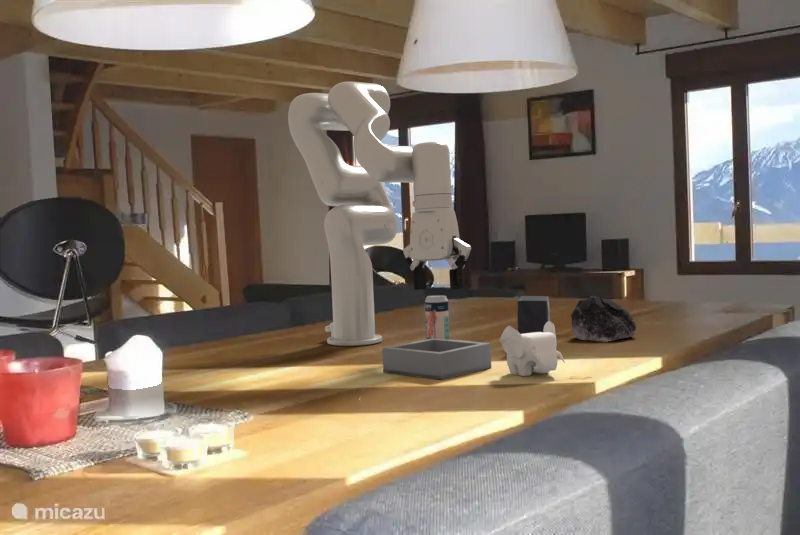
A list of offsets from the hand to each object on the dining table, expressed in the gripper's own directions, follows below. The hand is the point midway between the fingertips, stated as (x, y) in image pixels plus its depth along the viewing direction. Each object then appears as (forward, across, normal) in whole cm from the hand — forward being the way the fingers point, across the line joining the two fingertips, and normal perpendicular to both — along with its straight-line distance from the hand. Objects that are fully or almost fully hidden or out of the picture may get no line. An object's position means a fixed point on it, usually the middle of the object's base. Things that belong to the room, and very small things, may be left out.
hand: (438, 289), depth 175 cm
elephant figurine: (+14, +28, -8) cm, 32 cm away
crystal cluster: (+14, +15, +37) cm, 42 cm away
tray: (+14, +10, -13) cm, 22 cm away
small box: (+14, +10, +18) cm, 25 cm away
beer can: (+14, -1, 0) cm, 14 cm away
